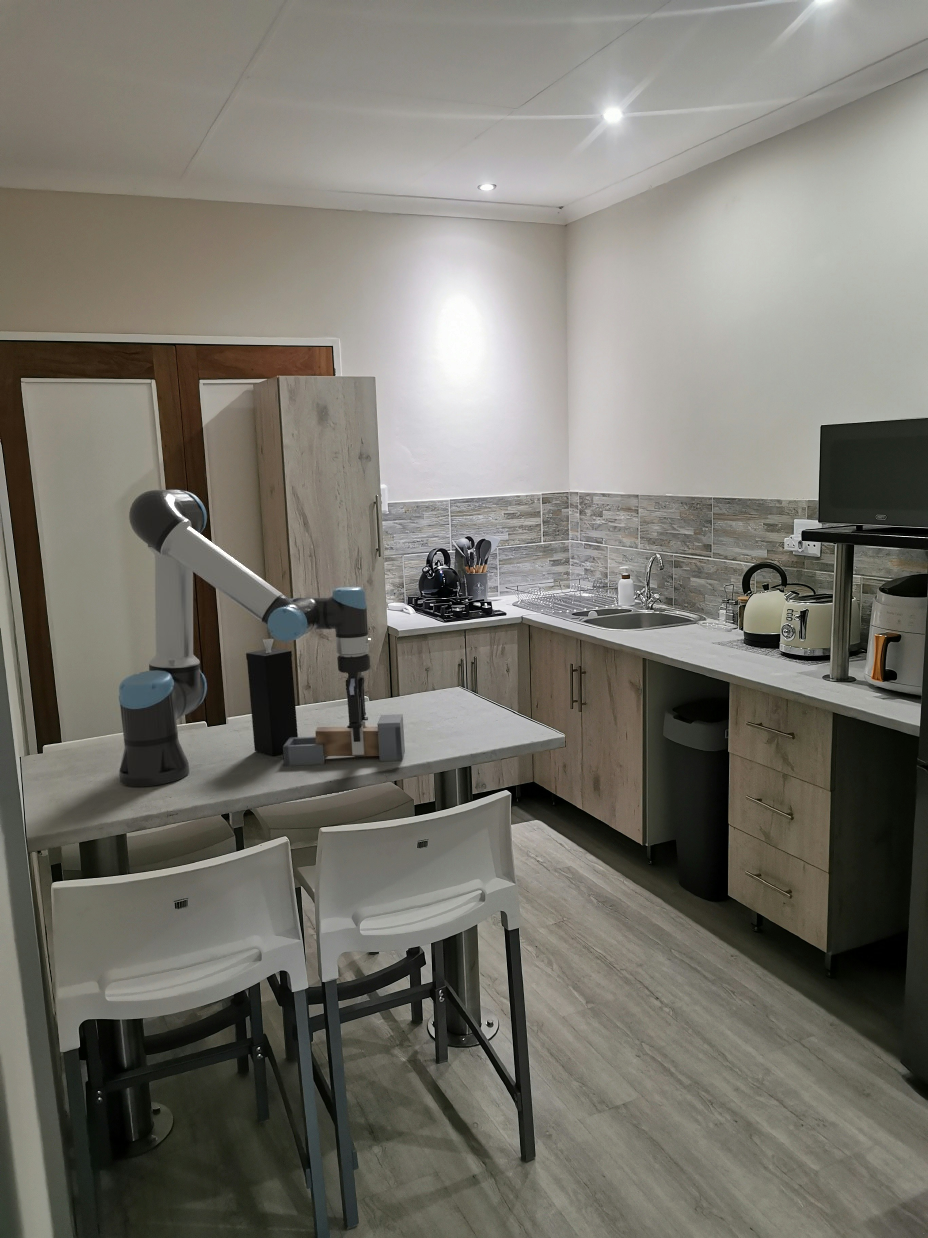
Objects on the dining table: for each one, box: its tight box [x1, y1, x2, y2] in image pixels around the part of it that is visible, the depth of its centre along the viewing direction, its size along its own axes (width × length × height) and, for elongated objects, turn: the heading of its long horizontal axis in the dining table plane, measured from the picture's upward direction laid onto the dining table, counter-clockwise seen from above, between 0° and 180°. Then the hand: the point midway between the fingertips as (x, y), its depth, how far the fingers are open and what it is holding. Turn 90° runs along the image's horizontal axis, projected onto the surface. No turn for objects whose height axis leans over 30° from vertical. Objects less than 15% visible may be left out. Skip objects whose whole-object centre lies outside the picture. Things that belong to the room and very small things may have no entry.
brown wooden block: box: [314, 726, 380, 757], centre depth 216 cm, size 18×4×6 cm, turn 93°
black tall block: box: [245, 638, 299, 757], centre depth 224 cm, size 8×8×28 cm
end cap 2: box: [376, 713, 406, 762], centre depth 216 cm, size 5×8×9 cm, turn 179°
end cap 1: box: [282, 735, 325, 767], centre depth 217 cm, size 9×8×4 cm
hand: (359, 751), depth 217 cm, fingers closed on brown wooden block, 4 cm apart
